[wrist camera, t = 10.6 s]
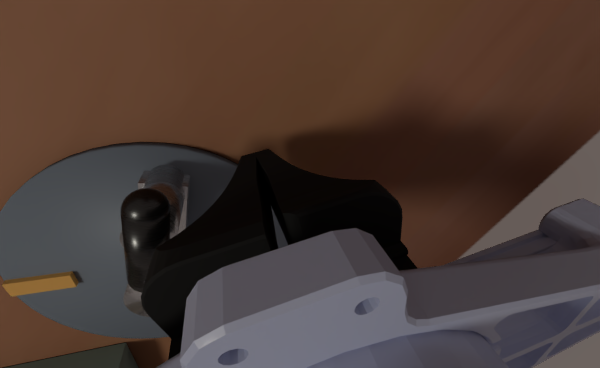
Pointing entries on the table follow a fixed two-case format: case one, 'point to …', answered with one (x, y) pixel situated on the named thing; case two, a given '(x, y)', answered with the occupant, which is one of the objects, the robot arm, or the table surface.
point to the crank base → (93, 232)
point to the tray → (89, 359)
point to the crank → (151, 224)
